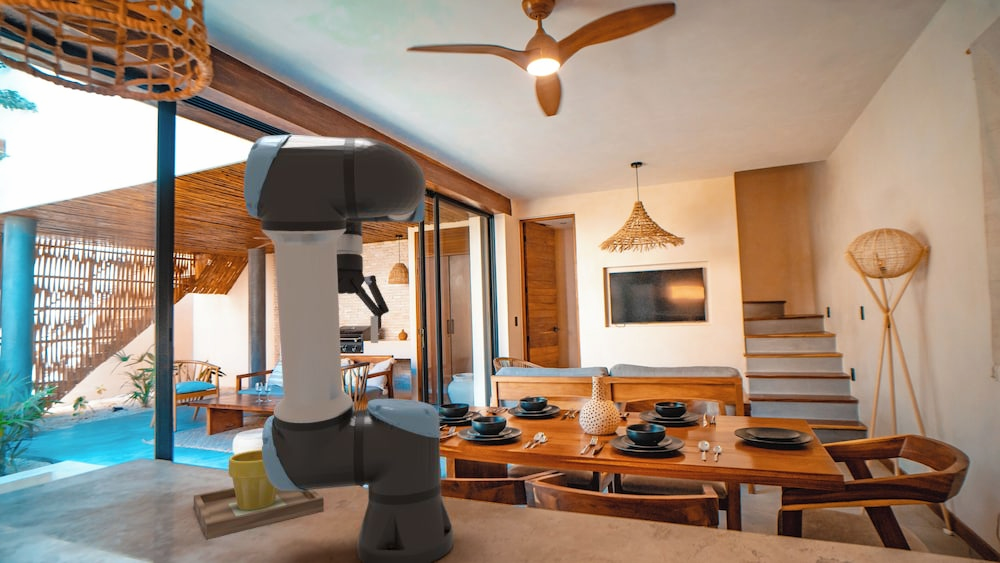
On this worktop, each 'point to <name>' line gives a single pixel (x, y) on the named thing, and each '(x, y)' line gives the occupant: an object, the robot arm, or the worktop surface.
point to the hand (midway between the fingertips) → (347, 344)
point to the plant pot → (251, 481)
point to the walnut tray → (225, 516)
